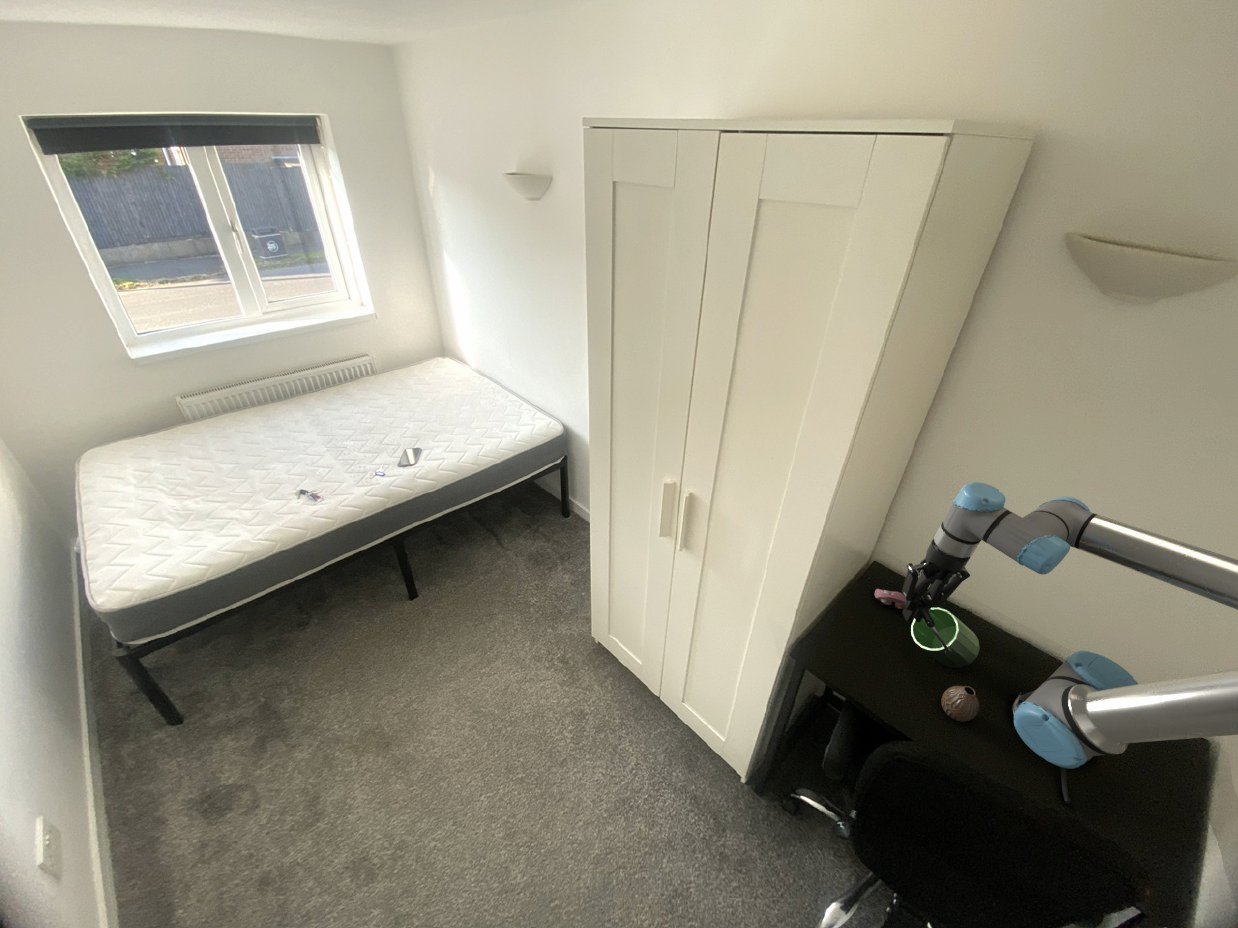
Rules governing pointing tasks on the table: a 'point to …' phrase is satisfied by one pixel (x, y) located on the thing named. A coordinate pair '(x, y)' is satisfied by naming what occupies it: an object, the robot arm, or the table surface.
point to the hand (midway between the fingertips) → (910, 617)
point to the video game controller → (891, 598)
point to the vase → (960, 703)
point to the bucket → (945, 637)
